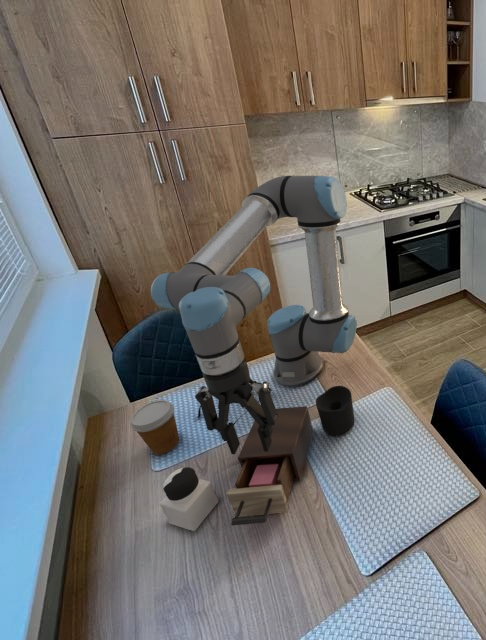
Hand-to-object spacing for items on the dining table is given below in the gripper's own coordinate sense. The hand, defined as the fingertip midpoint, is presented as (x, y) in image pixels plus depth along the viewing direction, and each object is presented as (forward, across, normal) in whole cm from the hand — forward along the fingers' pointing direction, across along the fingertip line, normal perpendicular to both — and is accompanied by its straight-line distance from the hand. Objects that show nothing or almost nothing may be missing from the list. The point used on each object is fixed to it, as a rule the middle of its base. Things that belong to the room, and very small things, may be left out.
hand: (252, 447), depth 88 cm
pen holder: (+17, +13, +20) cm, 29 cm away
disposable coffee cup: (+17, -33, +18) cm, 41 cm away
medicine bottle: (+17, -16, -2) cm, 24 cm away
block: (+15, 0, +1) cm, 15 cm away
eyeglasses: (+17, -19, +30) cm, 39 cm away
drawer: (+16, 0, 0) cm, 16 cm away
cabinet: (+17, 0, +11) cm, 20 cm away
